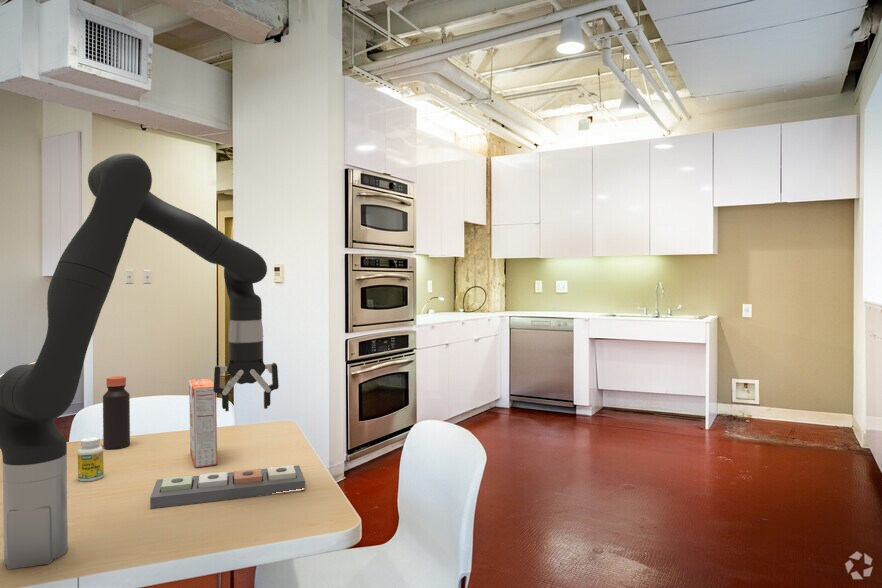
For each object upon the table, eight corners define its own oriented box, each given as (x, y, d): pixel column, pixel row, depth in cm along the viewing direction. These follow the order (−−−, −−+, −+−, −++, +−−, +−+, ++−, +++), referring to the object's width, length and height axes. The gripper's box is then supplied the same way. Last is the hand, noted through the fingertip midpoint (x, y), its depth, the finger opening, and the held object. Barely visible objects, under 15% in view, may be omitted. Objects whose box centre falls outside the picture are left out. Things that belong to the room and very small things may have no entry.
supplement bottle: (102, 473, 147) (102, 435, 147) (104, 479, 143) (104, 439, 142) (77, 477, 144) (77, 438, 144) (78, 483, 140) (77, 443, 140)
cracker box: (188, 454, 163) (188, 379, 163) (211, 451, 166) (211, 377, 166) (192, 468, 151) (192, 387, 150) (217, 465, 154) (217, 385, 153)
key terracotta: (262, 484, 135) (262, 475, 135) (234, 487, 133) (234, 478, 133) (260, 476, 141) (260, 467, 140) (234, 478, 138) (234, 470, 138)
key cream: (295, 480, 137) (295, 471, 137) (268, 483, 135) (268, 474, 135) (293, 472, 143) (293, 464, 143) (267, 475, 141) (267, 467, 141)
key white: (227, 487, 132) (227, 479, 132) (198, 491, 130) (198, 482, 130) (227, 479, 138) (227, 470, 138) (199, 482, 136) (199, 473, 136)
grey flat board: (305, 490, 135) (304, 480, 135) (150, 508, 124) (150, 497, 124) (299, 474, 147) (299, 464, 146) (156, 489, 136) (156, 479, 136)
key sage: (191, 491, 130) (190, 482, 130) (161, 495, 128) (160, 486, 128) (192, 483, 135) (192, 474, 135) (163, 486, 133) (163, 477, 133)
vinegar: (112, 443, 175) (111, 375, 174) (134, 443, 174) (134, 375, 174) (98, 449, 168) (97, 379, 167) (121, 449, 168) (120, 379, 167)
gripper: (212, 342, 130) (213, 415, 131) (279, 339, 135) (279, 410, 136) (213, 339, 137) (213, 408, 138) (276, 336, 142) (277, 404, 143)
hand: (246, 409), depth 137 cm, fingers open, 8 cm apart
